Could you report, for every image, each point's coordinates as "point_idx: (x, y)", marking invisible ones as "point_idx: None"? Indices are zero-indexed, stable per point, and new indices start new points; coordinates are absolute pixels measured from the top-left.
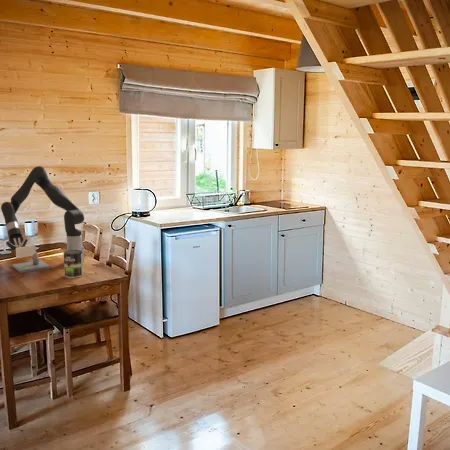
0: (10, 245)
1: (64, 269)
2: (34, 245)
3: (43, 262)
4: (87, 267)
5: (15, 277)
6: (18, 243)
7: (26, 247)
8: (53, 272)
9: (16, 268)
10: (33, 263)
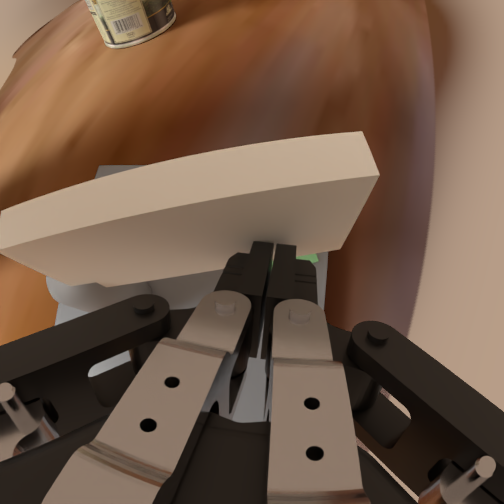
0: (457, 376)
1: (160, 3)
2: (13, 206)
3: (67, 310)
4: (20, 110)
5: (377, 112)
6: (209, 417)
7: (151, 173)
8: (155, 90)
9: (325, 282)
10: (149, 292)
